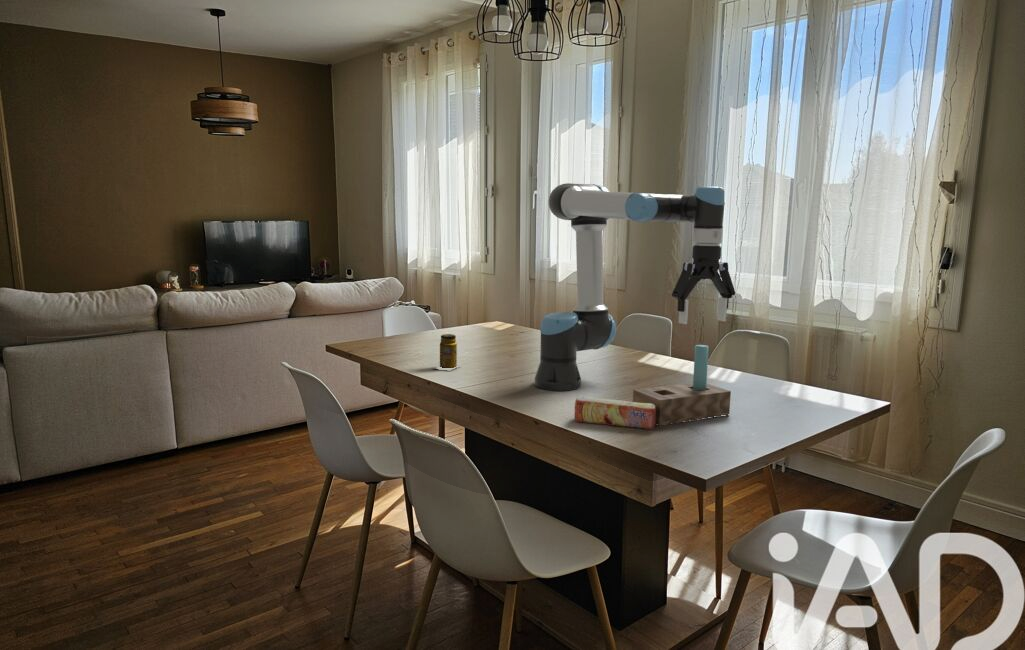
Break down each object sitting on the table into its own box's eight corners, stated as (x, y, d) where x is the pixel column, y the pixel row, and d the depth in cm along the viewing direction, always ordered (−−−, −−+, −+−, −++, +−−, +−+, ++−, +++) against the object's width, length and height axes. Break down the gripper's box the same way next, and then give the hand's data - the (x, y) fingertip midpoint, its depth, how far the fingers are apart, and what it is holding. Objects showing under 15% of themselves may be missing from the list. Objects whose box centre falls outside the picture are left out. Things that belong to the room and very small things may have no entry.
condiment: (461, 367, 247) (461, 334, 245) (450, 371, 239) (450, 338, 237) (443, 365, 249) (443, 332, 248) (431, 369, 242) (431, 336, 240)
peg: (697, 411, 190) (701, 347, 187) (688, 408, 193) (692, 345, 190) (707, 409, 191) (711, 346, 189) (698, 406, 194) (702, 344, 192)
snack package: (656, 425, 181) (657, 400, 180) (653, 432, 174) (654, 406, 173) (577, 417, 187) (578, 393, 186) (572, 423, 181) (573, 399, 180)
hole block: (659, 426, 179) (660, 400, 178) (632, 414, 190) (633, 389, 189) (729, 415, 189) (730, 391, 188) (699, 405, 200) (701, 381, 199)
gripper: (679, 245, 176) (675, 326, 179) (751, 245, 187) (746, 321, 190) (661, 244, 183) (657, 322, 186) (732, 244, 193) (727, 317, 197)
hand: (702, 322), depth 188 cm, fingers open, 13 cm apart
